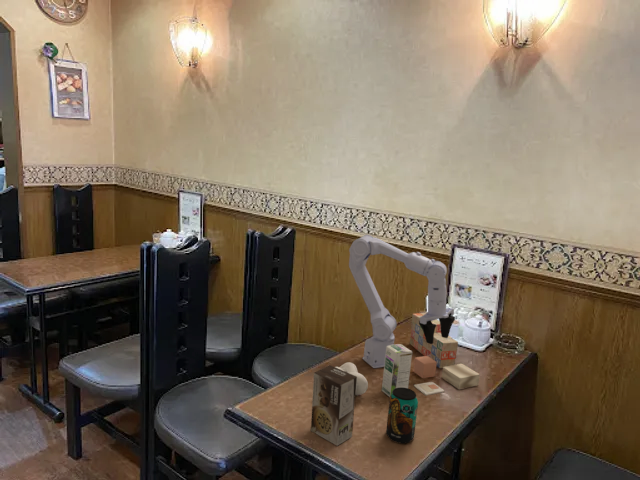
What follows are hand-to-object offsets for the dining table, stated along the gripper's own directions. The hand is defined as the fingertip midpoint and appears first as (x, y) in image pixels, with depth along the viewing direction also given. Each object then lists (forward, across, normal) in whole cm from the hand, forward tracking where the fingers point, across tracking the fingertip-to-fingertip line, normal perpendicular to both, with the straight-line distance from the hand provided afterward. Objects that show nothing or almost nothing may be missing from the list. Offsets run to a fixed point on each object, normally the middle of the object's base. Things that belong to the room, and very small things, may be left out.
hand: (437, 340), depth 154 cm
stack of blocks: (+12, +10, +11) cm, 19 cm away
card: (+12, -11, -5) cm, 17 cm away
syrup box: (+11, -22, -2) cm, 25 cm away
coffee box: (+10, -51, -8) cm, 52 cm away
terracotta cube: (+11, -4, +2) cm, 12 cm away
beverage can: (+11, -37, -18) cm, 43 cm away
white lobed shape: (+9, -36, +5) cm, 37 cm away
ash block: (+13, +2, -7) cm, 15 cm away
